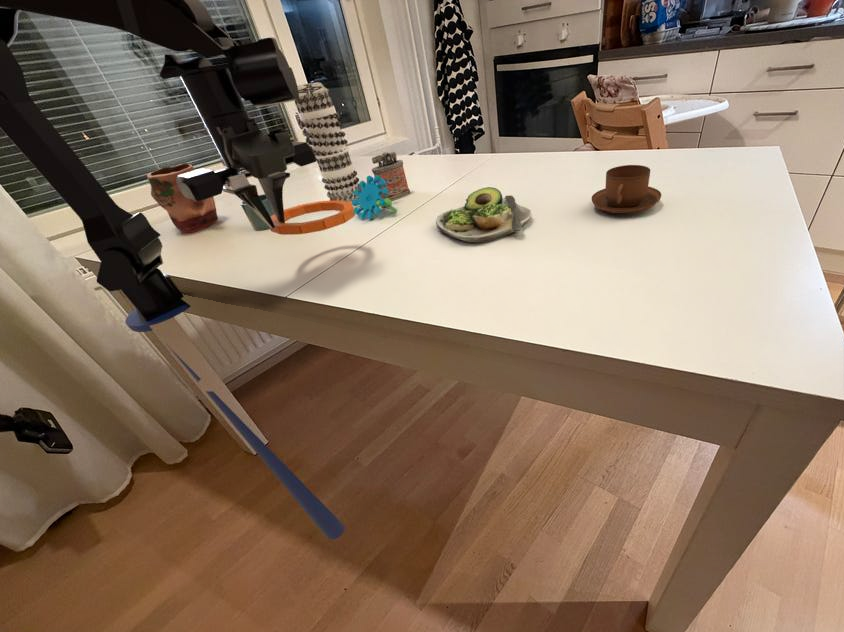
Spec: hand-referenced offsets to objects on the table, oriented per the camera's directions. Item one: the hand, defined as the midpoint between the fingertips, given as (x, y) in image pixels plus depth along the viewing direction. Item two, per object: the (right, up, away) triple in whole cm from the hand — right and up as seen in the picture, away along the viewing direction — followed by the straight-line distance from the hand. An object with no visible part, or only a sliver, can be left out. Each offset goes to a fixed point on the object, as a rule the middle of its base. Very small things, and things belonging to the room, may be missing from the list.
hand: (277, 225), depth 63 cm
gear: (+9, +11, +26) cm, 30 cm away
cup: (-19, +11, +32) cm, 38 cm away
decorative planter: (-39, +13, +39) cm, 57 cm away
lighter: (+12, +19, +34) cm, 41 cm away
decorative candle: (0, +17, +35) cm, 39 cm away
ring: (+4, +2, +4) cm, 6 cm away
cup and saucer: (+60, +7, +10) cm, 61 cm away
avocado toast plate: (+34, +5, +13) cm, 36 cm away
